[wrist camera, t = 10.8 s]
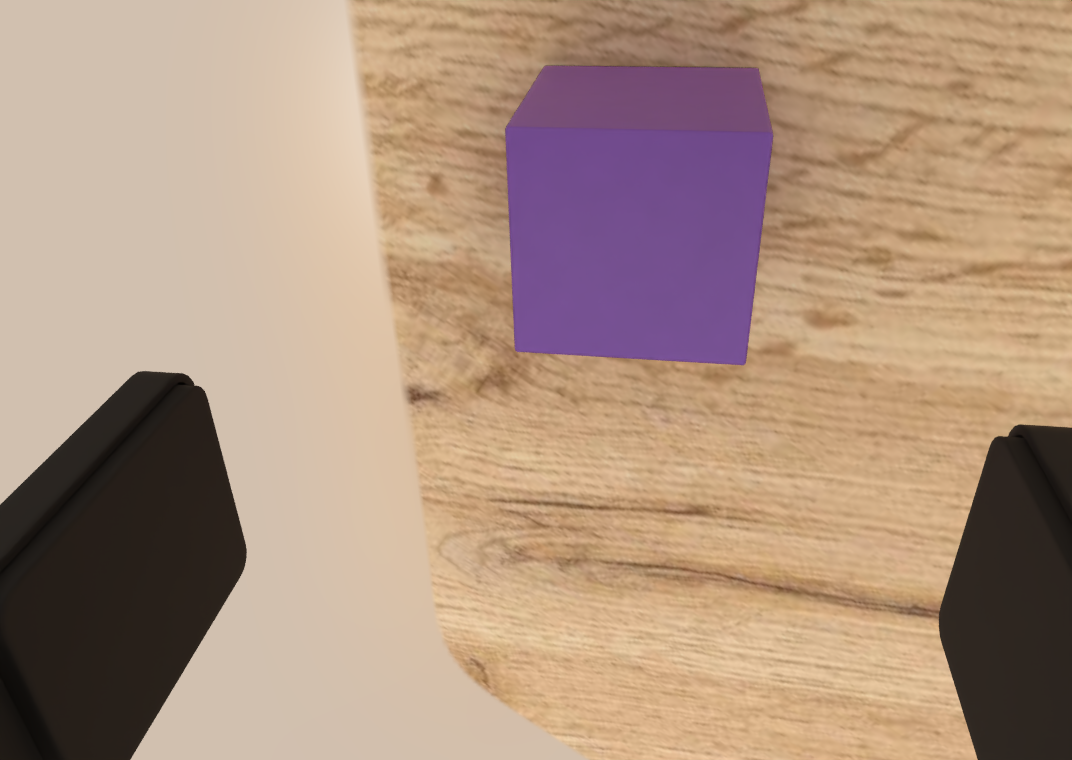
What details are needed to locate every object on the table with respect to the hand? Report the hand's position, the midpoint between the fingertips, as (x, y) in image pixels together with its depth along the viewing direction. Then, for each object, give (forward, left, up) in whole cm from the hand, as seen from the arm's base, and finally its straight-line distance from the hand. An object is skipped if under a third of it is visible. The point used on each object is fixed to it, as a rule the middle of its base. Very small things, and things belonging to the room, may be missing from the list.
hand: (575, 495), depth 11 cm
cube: (0, 0, -11) cm, 11 cm away
